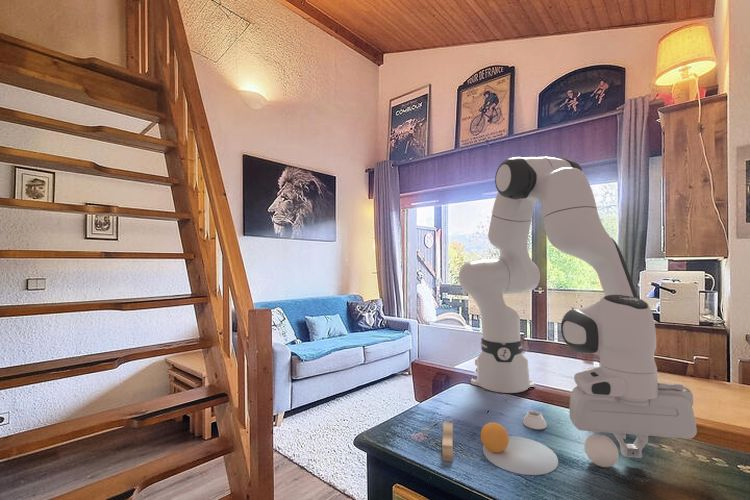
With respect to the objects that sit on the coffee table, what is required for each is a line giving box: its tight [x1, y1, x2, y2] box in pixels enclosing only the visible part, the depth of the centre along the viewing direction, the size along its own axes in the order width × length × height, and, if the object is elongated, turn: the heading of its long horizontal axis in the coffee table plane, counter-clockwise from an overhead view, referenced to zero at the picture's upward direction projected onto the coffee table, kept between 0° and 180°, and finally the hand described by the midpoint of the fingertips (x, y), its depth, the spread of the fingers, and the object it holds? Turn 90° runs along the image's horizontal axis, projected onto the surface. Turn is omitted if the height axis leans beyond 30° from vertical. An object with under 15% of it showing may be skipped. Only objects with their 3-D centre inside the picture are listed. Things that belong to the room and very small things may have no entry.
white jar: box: [522, 410, 548, 430], centre depth 84 cm, size 5×3×5 cm
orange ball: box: [480, 422, 509, 453], centre depth 73 cm, size 6×6×6 cm
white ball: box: [584, 433, 620, 468], centre depth 68 cm, size 6×6×6 cm
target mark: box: [482, 435, 559, 476], centre depth 72 cm, size 14×14×1 cm
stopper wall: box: [441, 421, 454, 463], centre depth 75 cm, size 10×2×3 cm, turn 168°
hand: (631, 455), depth 68 cm, fingers closed
